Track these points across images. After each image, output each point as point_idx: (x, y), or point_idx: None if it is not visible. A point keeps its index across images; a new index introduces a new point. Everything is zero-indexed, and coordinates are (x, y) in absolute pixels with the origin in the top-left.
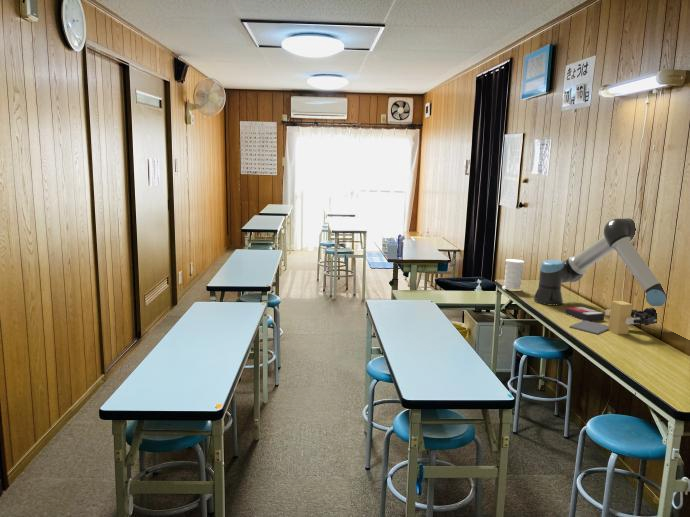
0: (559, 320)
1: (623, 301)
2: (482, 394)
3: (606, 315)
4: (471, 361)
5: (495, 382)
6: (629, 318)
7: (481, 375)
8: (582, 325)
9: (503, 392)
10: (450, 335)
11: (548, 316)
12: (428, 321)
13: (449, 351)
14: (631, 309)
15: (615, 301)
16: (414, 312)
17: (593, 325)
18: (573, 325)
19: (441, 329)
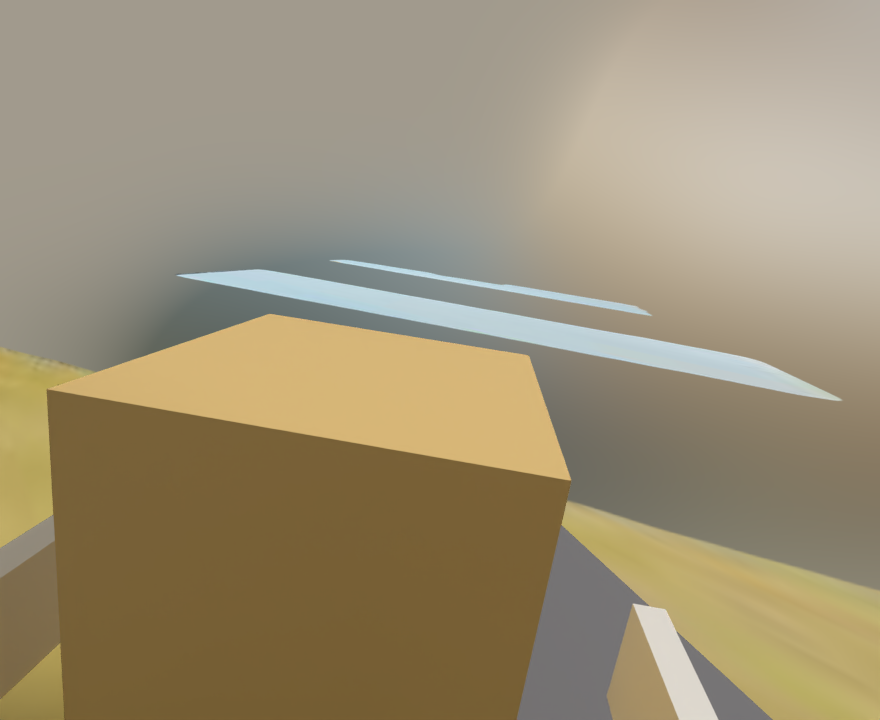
0: (753, 585)
1: (493, 449)
2: (213, 276)
3: (610, 703)
4: (323, 301)
5: (229, 285)
6: (45, 520)
7: (264, 289)
8: (583, 604)
9: (195, 279)
10: (473, 329)
11: (863, 590)
12: (583, 345)
13: (382, 307)
14: (64, 565)
15: (503, 367)
16: (663, 356)
17: (600, 716)
18: (572, 546)
19: (518, 336)
